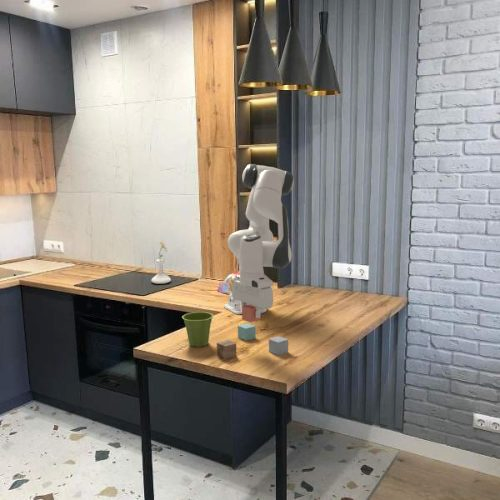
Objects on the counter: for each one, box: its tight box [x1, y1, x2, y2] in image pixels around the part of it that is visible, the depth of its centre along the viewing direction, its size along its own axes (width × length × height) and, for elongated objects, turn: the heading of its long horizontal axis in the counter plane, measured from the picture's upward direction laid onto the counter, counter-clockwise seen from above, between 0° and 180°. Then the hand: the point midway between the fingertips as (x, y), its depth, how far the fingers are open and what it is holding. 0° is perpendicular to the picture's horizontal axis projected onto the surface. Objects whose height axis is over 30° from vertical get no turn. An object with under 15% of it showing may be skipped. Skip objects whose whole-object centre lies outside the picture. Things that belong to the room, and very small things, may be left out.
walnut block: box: [216, 339, 237, 360], centre depth 183 cm, size 5×5×5 cm
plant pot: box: [181, 311, 214, 348], centre depth 195 cm, size 12×12×11 cm
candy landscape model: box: [216, 270, 240, 295], centre depth 284 cm, size 25×24×9 cm
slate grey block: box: [268, 335, 289, 356], centre depth 187 cm, size 5×5×5 cm
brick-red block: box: [241, 305, 262, 323], centre depth 189 cm, size 5×5×5 cm
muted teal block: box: [237, 323, 257, 341], centre depth 203 cm, size 5×5×5 cm
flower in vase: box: [150, 240, 172, 285], centre depth 300 cm, size 13×11×25 cm
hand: (251, 315), depth 189 cm, fingers closed on brick-red block, 5 cm apart
